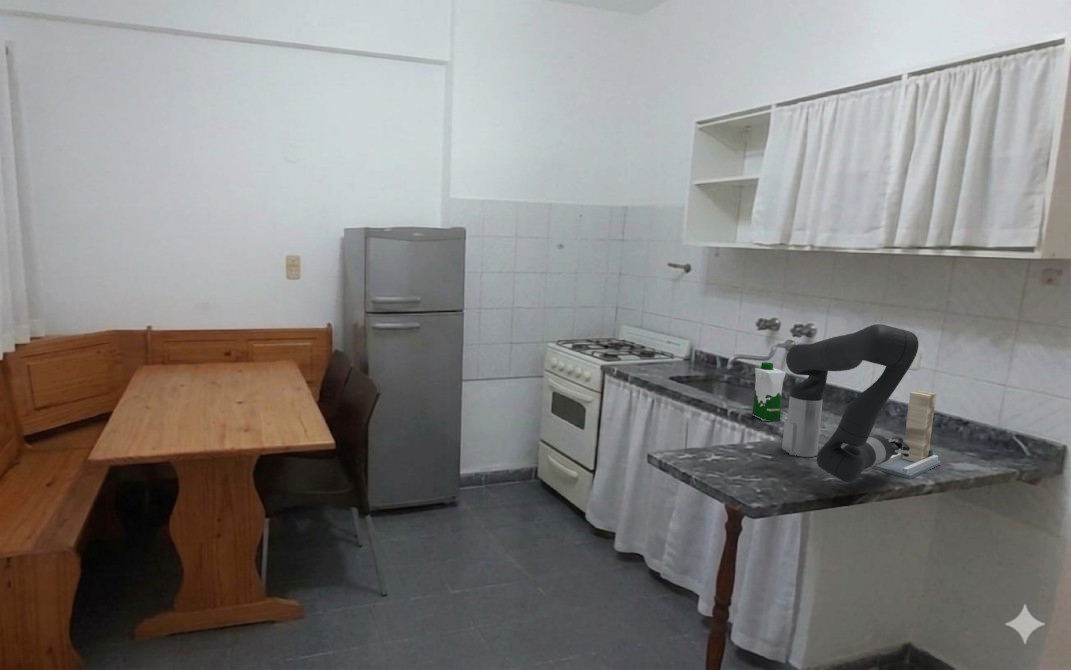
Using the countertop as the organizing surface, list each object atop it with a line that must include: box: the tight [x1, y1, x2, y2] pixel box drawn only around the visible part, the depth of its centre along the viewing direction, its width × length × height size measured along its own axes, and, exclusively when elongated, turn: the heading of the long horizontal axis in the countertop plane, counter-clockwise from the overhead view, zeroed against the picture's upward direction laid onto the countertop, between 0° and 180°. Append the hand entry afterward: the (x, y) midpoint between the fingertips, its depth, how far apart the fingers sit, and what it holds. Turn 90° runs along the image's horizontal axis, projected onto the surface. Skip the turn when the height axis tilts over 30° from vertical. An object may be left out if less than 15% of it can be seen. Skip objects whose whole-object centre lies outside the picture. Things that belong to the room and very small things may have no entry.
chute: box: [872, 448, 942, 480], centre depth 188 cm, size 21×10×4 cm, turn 128°
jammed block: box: [902, 389, 937, 462], centre depth 190 cm, size 5×5×20 cm
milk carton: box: [752, 361, 787, 421], centre depth 235 cm, size 9×9×20 cm
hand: (899, 440), depth 183 cm, fingers closed
